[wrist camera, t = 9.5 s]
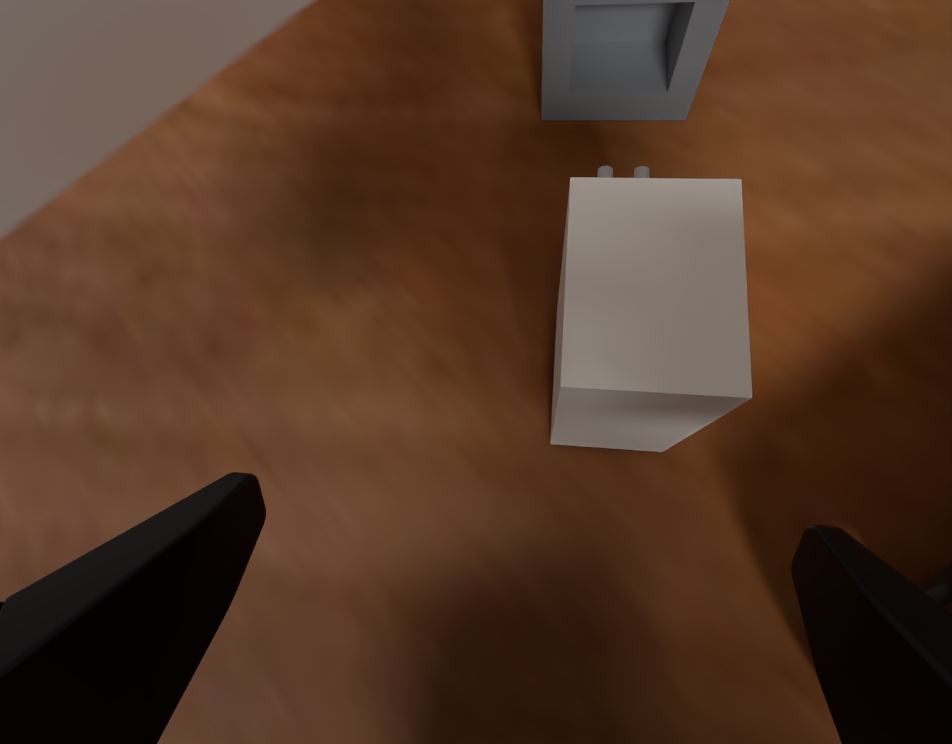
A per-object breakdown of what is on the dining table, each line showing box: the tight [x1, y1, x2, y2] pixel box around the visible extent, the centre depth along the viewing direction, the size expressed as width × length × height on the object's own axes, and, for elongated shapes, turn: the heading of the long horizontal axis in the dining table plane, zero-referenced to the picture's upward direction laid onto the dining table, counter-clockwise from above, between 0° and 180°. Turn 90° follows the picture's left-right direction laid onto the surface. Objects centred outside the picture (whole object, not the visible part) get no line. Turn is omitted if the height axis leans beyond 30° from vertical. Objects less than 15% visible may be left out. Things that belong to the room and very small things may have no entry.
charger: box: [550, 166, 752, 452], centre depth 19 cm, size 10×4×10 cm, turn 175°
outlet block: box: [541, 0, 730, 121], centre depth 24 cm, size 4×7×8 cm, turn 85°
